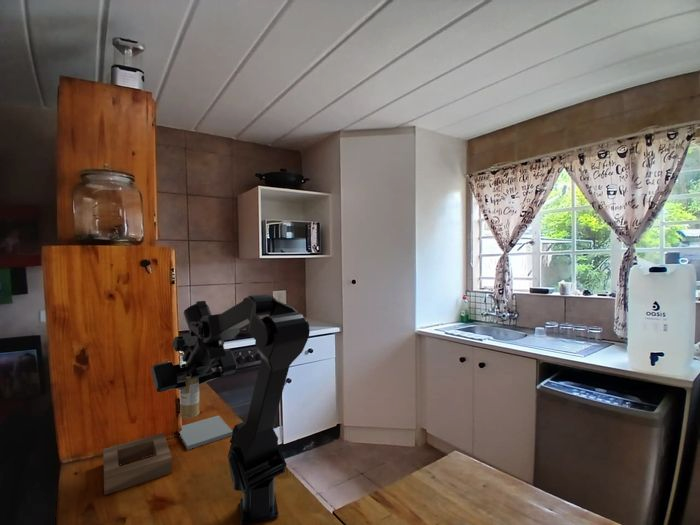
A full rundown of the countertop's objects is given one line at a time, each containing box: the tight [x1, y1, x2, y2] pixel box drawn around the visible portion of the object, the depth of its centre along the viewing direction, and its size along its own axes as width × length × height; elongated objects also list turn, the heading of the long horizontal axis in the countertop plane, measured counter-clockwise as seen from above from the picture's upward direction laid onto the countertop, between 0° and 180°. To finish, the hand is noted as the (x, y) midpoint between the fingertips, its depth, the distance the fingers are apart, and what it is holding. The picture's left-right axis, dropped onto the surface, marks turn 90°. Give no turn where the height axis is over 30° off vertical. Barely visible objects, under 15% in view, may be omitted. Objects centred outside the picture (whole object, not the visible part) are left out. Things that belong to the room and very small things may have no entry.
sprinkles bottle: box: [179, 361, 200, 419], centre depth 88 cm, size 5×5×13 cm
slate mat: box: [179, 415, 233, 451], centre depth 92 cm, size 11×11×1 cm
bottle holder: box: [102, 432, 173, 496], centre depth 77 cm, size 12×12×4 cm
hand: (187, 385), depth 89 cm, fingers closed on sprinkles bottle, 4 cm apart
